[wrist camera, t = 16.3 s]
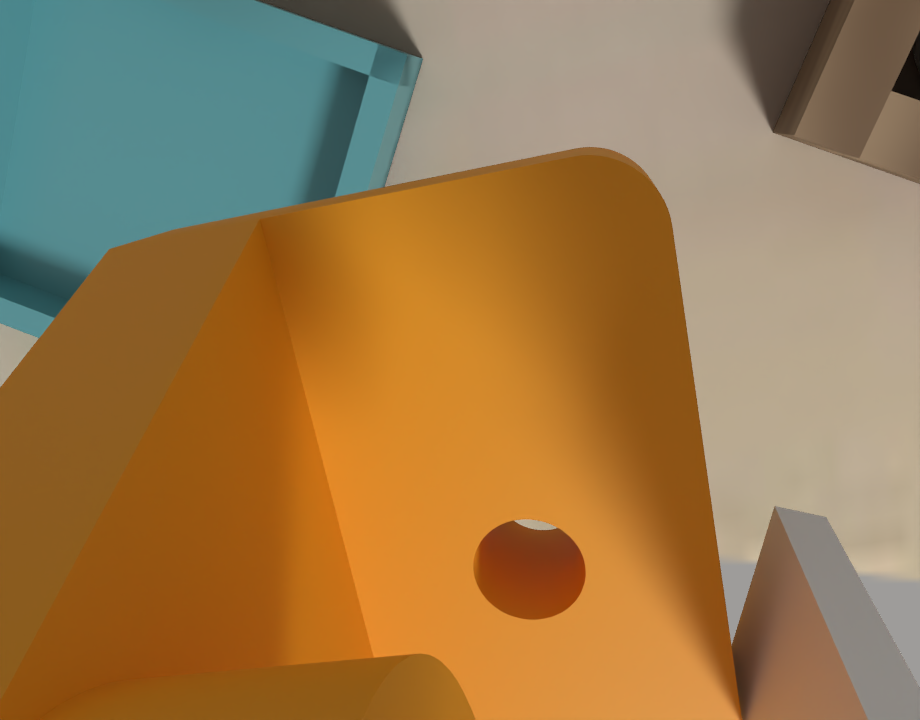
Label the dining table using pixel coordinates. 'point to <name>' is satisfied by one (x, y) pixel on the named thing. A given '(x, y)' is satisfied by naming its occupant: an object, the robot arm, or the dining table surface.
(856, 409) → the dining table surface
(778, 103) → the dining table surface
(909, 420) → the dining table surface
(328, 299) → the bracket
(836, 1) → the tan square sleeve
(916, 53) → the pin
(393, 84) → the tray
